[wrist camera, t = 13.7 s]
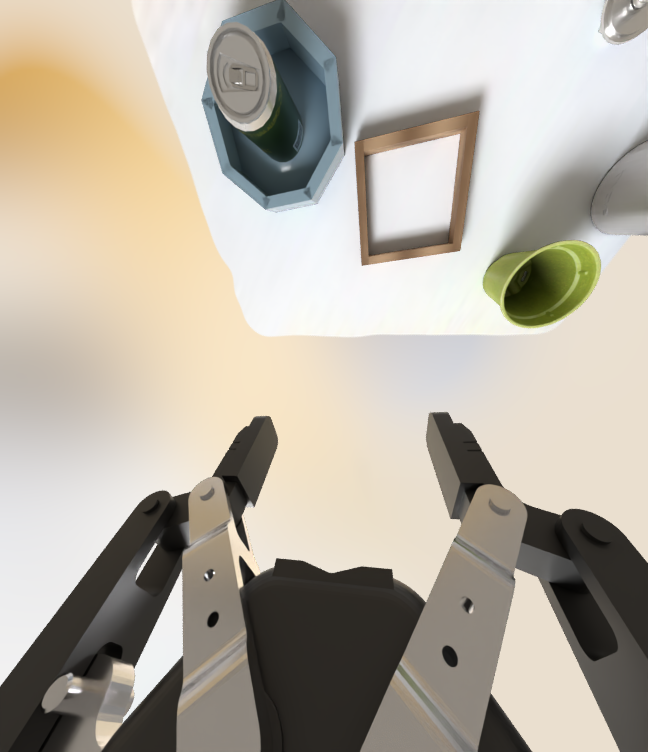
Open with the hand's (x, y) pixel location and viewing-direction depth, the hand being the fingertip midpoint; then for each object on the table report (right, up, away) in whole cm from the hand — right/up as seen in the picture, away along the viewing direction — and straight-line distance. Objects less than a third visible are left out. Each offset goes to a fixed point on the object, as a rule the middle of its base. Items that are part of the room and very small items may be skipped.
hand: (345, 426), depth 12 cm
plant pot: (+25, +17, +22) cm, 37 cm away
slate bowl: (-6, +32, +16) cm, 37 cm away
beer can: (-6, +32, +16) cm, 36 cm away
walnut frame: (+10, +25, +18) cm, 33 cm away
